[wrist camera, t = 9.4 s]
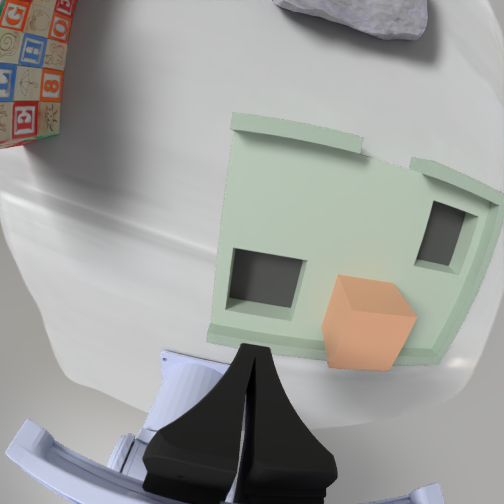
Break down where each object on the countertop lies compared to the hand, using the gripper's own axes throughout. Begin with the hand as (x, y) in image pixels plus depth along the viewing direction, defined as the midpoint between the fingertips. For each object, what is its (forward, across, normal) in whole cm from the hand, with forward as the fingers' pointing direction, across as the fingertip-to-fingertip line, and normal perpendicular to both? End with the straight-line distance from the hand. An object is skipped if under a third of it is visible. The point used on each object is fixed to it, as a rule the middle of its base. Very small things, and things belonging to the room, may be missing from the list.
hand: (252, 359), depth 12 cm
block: (+7, -7, 0) cm, 10 cm away
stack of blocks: (+10, +24, -19) cm, 32 cm away
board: (+9, -7, -3) cm, 12 cm away
